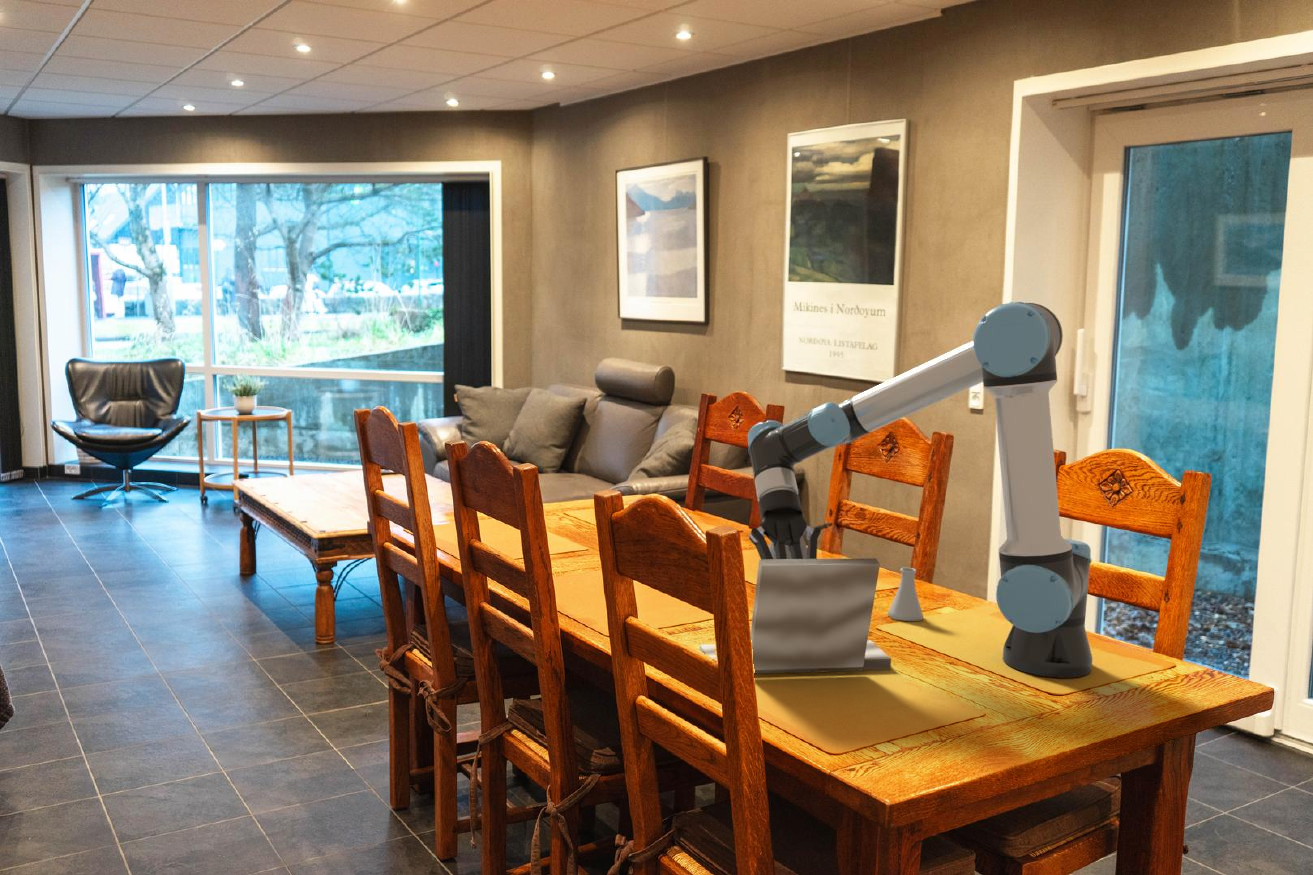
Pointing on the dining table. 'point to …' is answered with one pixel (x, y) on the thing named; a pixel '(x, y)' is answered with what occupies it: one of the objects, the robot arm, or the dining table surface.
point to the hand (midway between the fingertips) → (800, 616)
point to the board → (872, 661)
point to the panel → (812, 612)
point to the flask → (906, 599)
